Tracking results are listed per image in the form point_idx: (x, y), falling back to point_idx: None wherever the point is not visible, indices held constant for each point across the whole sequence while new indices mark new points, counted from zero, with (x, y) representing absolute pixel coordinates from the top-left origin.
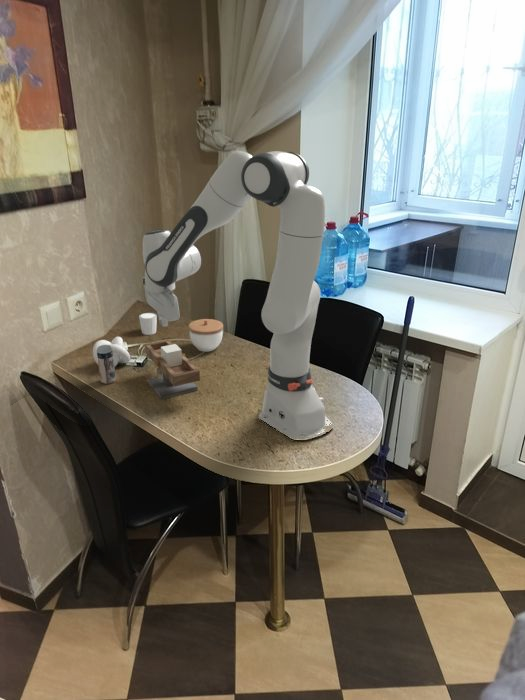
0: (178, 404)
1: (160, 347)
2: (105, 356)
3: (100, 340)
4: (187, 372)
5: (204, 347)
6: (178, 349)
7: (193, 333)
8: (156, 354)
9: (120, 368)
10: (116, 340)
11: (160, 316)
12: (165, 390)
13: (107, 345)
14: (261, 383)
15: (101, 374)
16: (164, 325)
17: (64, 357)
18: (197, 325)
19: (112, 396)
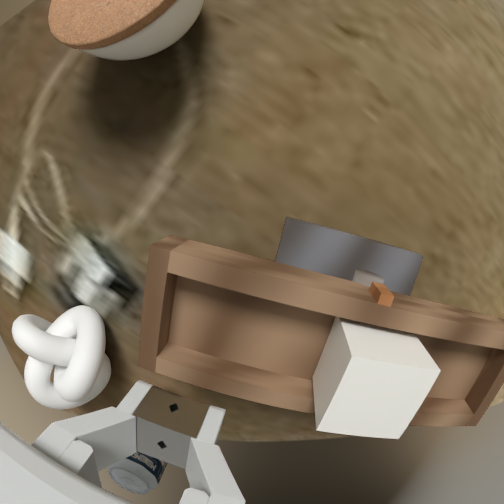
0: None
1: (172, 297)
2: (160, 477)
3: (30, 391)
4: (500, 379)
5: (182, 35)
6: (423, 381)
7: (115, 44)
8: (278, 398)
9: (115, 342)
10: (35, 357)
11: (109, 455)
12: None
13: (115, 467)
14: (497, 76)
15: None
16: (217, 438)
17: (24, 378)
18: (89, 8)
19: (256, 437)
